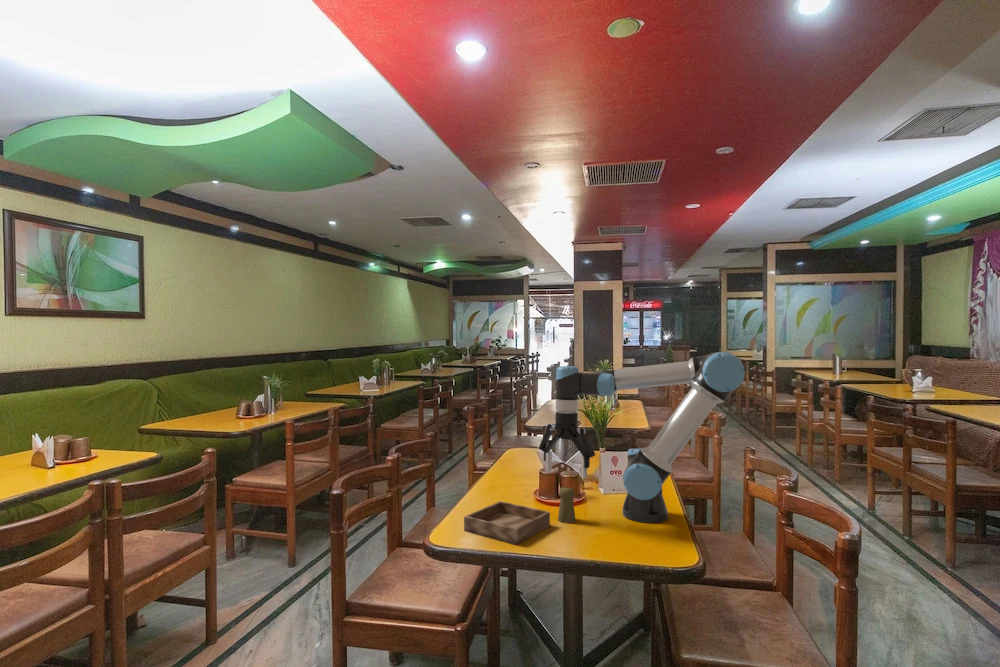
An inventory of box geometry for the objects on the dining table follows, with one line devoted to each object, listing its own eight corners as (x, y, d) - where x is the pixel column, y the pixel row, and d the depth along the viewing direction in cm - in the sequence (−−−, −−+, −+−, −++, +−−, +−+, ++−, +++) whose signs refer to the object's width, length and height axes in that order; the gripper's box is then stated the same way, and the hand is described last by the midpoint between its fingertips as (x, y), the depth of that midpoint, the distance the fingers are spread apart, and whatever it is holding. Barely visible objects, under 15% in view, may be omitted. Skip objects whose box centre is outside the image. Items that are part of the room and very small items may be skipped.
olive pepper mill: (555, 522, 172) (555, 489, 172) (560, 516, 178) (560, 484, 178) (573, 524, 170) (573, 491, 170) (577, 518, 176) (577, 486, 176)
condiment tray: (549, 525, 169) (549, 512, 169) (516, 545, 152) (516, 530, 152) (500, 513, 180) (500, 501, 180) (464, 530, 164) (464, 516, 164)
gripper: (605, 413, 170) (604, 477, 170) (540, 407, 185) (540, 466, 185) (595, 416, 164) (595, 482, 164) (529, 409, 179) (528, 470, 178)
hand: (565, 474), depth 174 cm, fingers open, 13 cm apart
